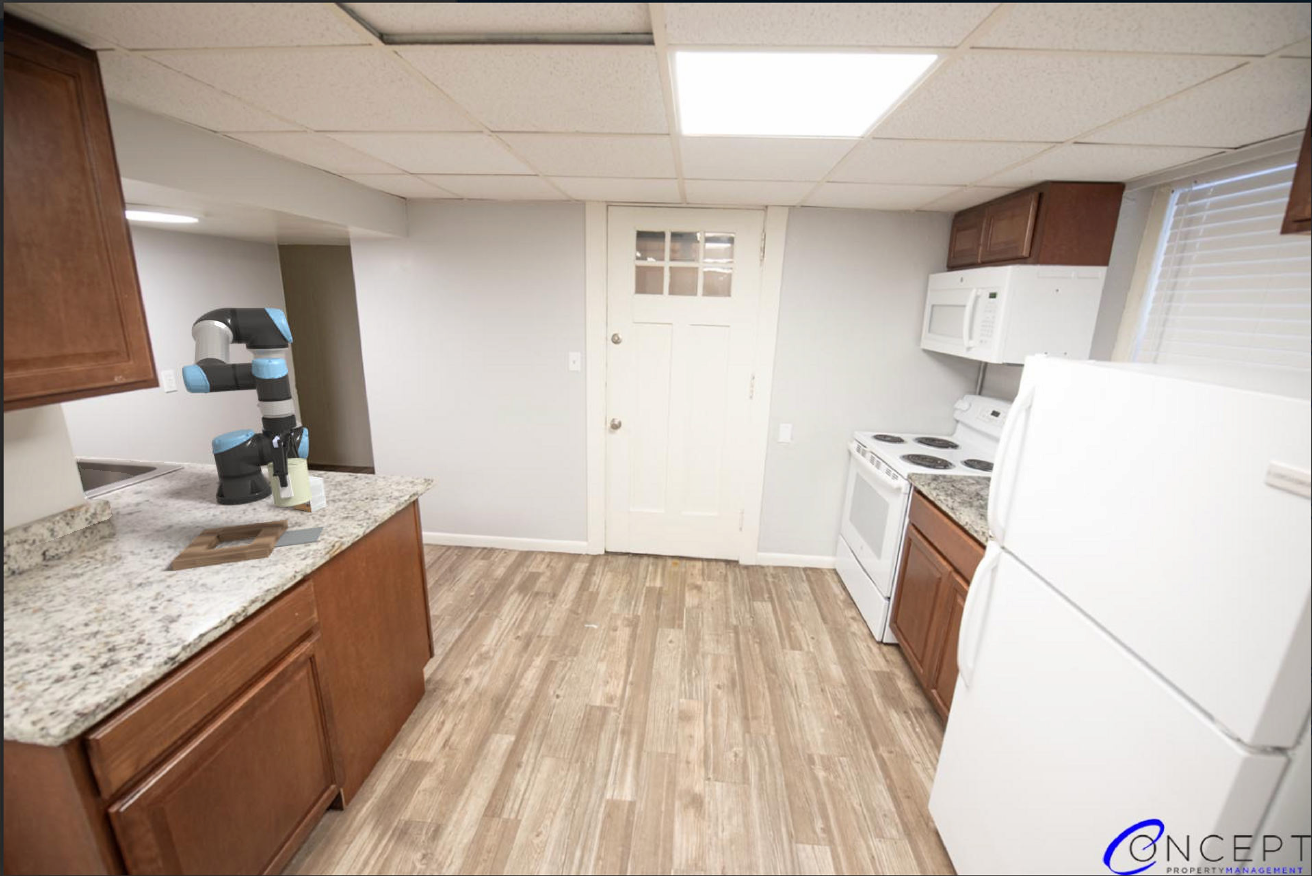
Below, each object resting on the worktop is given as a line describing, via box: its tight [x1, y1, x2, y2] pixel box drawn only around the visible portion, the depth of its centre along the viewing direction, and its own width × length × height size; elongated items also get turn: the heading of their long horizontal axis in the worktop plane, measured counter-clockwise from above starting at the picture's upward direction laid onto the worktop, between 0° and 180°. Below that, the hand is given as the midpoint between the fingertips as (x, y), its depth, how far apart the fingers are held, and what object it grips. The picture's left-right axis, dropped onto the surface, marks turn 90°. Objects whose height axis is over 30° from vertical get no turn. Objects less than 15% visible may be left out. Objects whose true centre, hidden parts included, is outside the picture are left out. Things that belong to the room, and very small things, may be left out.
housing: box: [171, 519, 289, 572], centre depth 139 cm, size 20×20×2 cm
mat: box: [275, 526, 325, 548], centre depth 146 cm, size 10×10×1 cm
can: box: [266, 458, 313, 508], centre depth 142 cm, size 9×9×12 cm
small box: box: [293, 474, 328, 513], centre depth 165 cm, size 8×6×10 cm
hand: (291, 490), depth 142 cm, fingers closed on can, 9 cm apart
